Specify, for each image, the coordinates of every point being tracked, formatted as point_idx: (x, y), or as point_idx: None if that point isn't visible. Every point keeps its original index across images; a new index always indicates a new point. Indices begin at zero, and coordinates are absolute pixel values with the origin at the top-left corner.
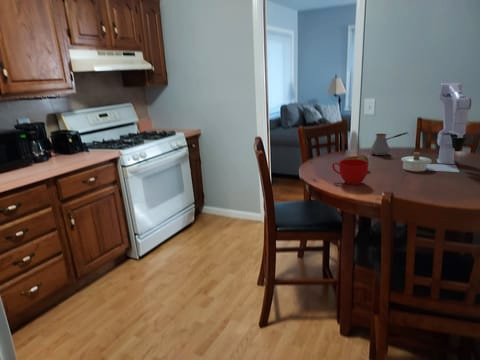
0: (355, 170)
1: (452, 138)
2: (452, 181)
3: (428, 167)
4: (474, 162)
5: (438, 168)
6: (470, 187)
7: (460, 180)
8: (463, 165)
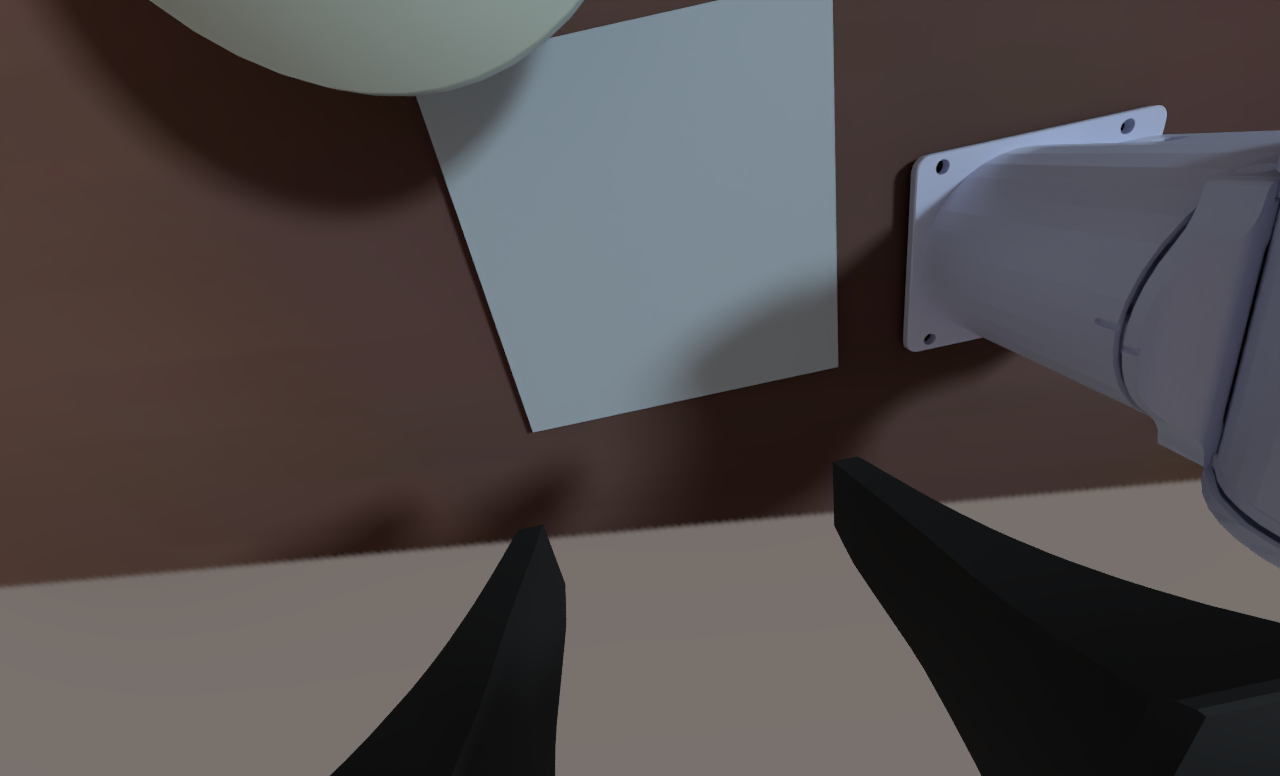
0: None
1: (1014, 630)
2: (113, 415)
3: (580, 59)
4: (1032, 488)
5: (588, 208)
6: (43, 554)
7: (222, 468)
8: (881, 424)
